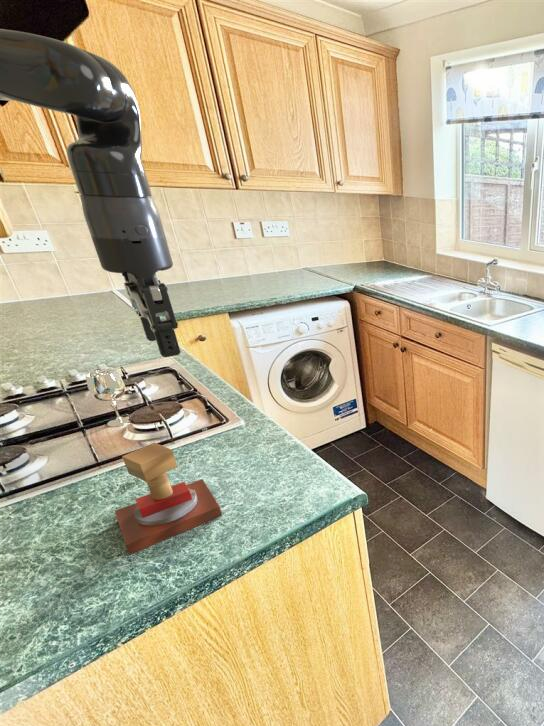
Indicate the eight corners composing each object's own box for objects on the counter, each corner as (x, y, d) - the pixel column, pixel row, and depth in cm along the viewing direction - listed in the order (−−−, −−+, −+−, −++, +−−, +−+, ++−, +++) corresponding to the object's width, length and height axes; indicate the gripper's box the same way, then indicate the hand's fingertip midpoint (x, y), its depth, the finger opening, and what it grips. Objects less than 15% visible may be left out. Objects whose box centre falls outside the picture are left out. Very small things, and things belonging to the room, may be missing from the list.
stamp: (141, 534, 63) (116, 475, 59) (131, 507, 68) (108, 451, 63) (203, 508, 69) (185, 454, 64) (190, 486, 74) (173, 433, 69)
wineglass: (126, 427, 92) (107, 378, 87) (96, 428, 91) (75, 378, 86) (142, 414, 97) (125, 367, 92) (114, 415, 96) (95, 367, 91)
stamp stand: (129, 554, 62) (125, 545, 61) (118, 519, 68) (114, 510, 67) (222, 515, 70) (219, 506, 69) (205, 487, 76) (202, 478, 75)
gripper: (82, 227, 57) (121, 340, 64) (99, 240, 49) (142, 368, 56) (151, 226, 62) (181, 330, 69) (177, 238, 54) (208, 355, 61)
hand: (163, 347), depth 62 cm, fingers open, 8 cm apart
